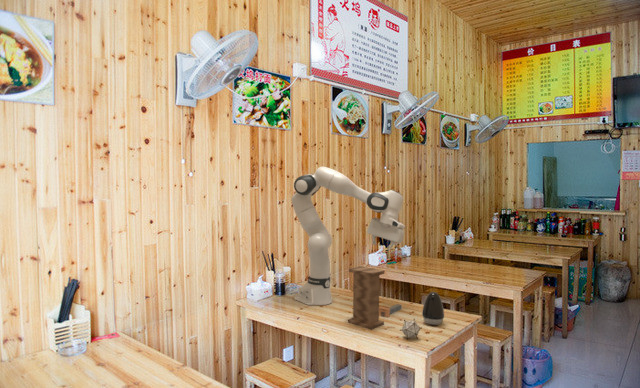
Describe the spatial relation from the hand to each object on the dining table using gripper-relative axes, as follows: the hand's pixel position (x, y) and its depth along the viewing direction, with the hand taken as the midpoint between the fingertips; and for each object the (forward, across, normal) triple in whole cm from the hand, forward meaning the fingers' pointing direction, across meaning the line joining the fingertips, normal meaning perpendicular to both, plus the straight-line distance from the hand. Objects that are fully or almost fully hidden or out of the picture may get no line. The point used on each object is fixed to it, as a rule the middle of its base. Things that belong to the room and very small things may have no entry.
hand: (381, 246), depth 224 cm
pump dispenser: (+28, +34, +8) cm, 45 cm away
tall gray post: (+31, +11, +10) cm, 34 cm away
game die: (+33, +36, -16) cm, 51 cm away
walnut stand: (+36, +11, -13) cm, 40 cm away
